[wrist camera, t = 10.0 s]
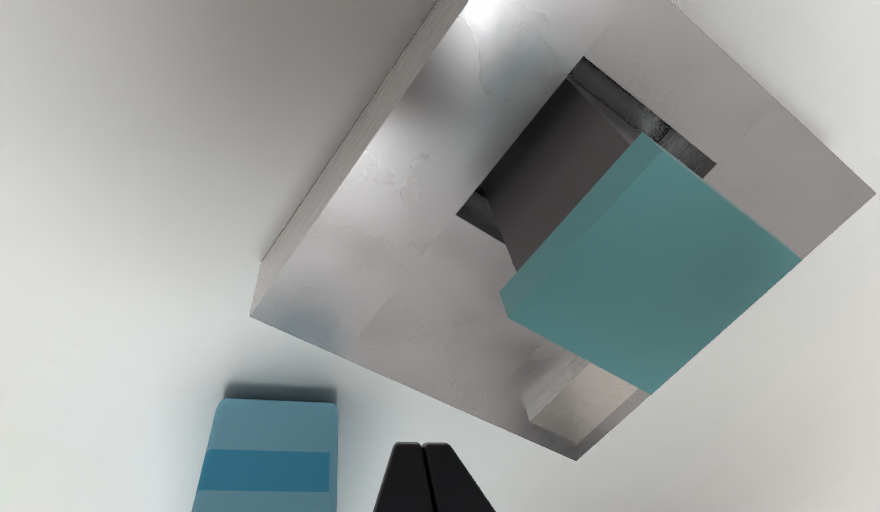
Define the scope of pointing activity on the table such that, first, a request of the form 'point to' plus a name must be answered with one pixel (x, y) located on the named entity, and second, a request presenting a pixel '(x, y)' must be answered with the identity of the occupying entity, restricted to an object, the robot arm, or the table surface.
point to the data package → (270, 458)
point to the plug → (622, 243)
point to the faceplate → (471, 218)
